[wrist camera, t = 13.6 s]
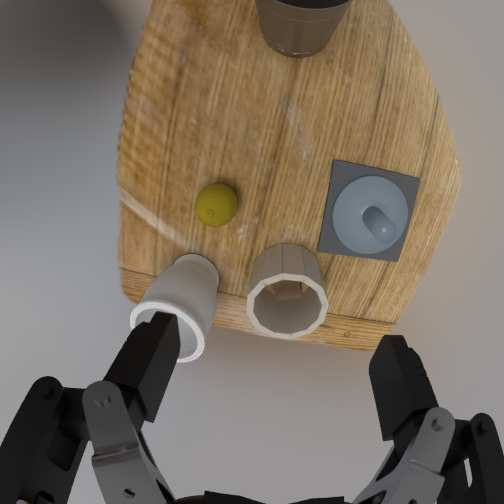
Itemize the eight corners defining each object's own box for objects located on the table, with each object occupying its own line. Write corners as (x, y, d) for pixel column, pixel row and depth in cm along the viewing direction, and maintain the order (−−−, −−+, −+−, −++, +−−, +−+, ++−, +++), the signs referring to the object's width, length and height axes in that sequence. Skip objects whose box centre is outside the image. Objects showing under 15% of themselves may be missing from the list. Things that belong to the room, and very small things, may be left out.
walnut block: (271, 265, 44) (271, 279, 40) (296, 261, 43) (297, 274, 39) (277, 286, 45) (276, 300, 42) (301, 282, 45) (302, 296, 41)
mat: (333, 159, 35) (334, 159, 35) (418, 178, 35) (420, 179, 34) (317, 249, 42) (317, 251, 41) (396, 260, 41) (397, 262, 40)
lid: (339, 168, 35) (351, 177, 29) (413, 184, 35) (435, 196, 29) (325, 246, 41) (332, 268, 35) (394, 256, 40) (410, 277, 34)
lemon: (247, 188, 38) (239, 203, 31) (232, 220, 41) (221, 242, 34) (212, 172, 38) (195, 184, 31) (198, 206, 40) (181, 224, 33)
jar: (232, 298, 47) (214, 363, 34) (178, 303, 49) (148, 362, 36) (216, 243, 43) (188, 299, 29) (159, 251, 45) (116, 303, 31)
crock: (256, 239, 42) (250, 269, 34) (326, 248, 41) (336, 279, 33) (250, 297, 47) (244, 333, 39) (312, 304, 46) (317, 340, 38)
